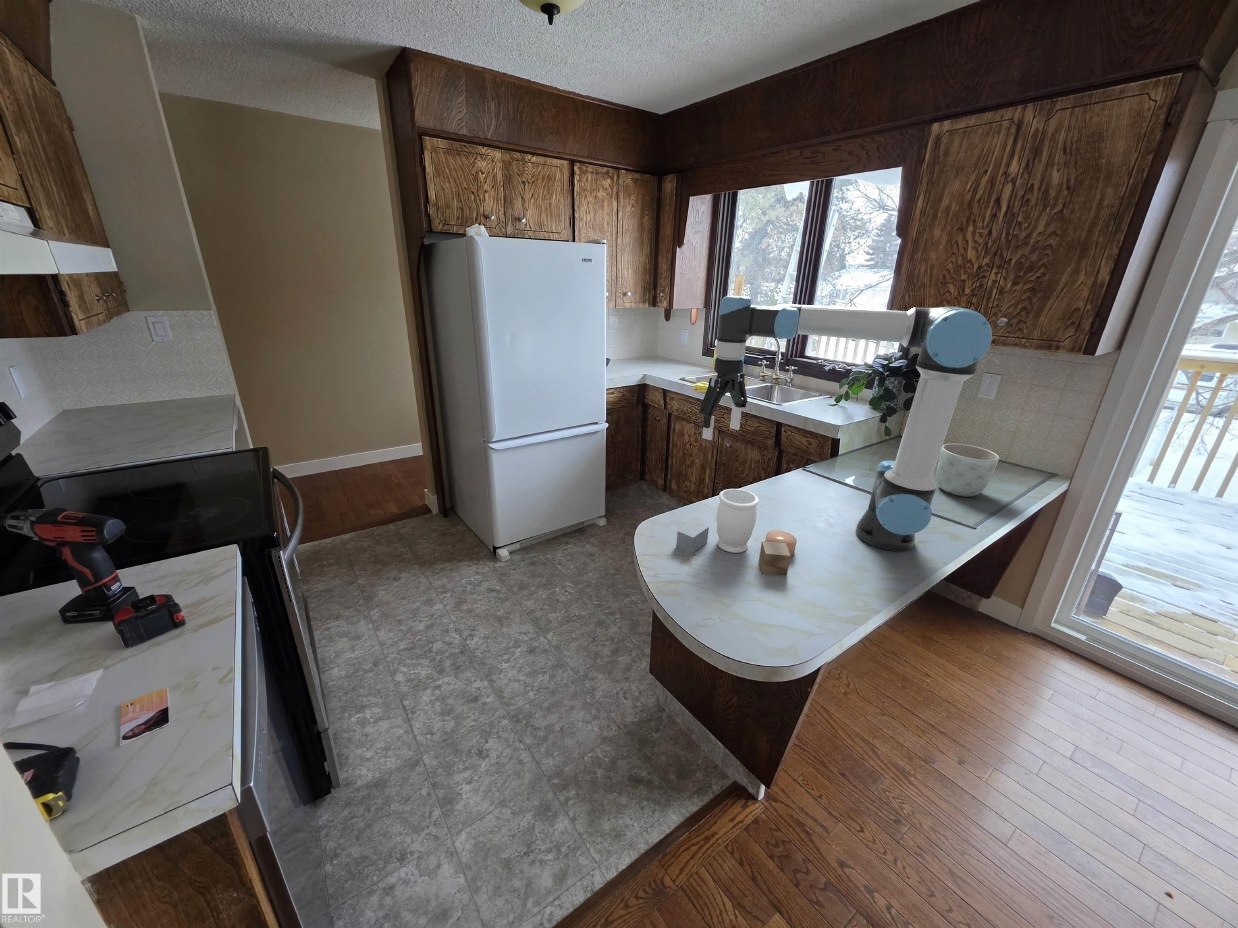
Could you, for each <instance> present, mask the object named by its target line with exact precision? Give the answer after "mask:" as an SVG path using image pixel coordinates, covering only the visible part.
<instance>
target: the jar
mask: <svg viewBox="0 0 1238 928" xmlns="http://www.w3.org/2000/svg"><path fill="white" fill-rule="evenodd" d="M718 499H719V503H718V506H717V511H716V533H717V536H718V539H717V541H716V544H717V546H718V547H719V548H720V549H721V550H722V551H725V552H728V553H733V554H737V553H743V552H745V551H747V549H748V547H749V546H748V542H749V541H750V539H751V537H752V535H753V531H754V528H755V526H756V525H755V524H756V521H757V506H758V504H759V497H758V496H757V495H756V494H755V493H753V492H751V491H749V490H746V489H745V490H744V489H742V488H729V489H727V488H726V489H723V490H722V491H720V492H719V495H718Z"/></svg>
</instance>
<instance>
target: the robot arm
mask: <svg viewBox="0 0 1238 928" xmlns="http://www.w3.org/2000/svg"><path fill="white" fill-rule="evenodd" d="M717 325H718V327H717V337H716V348H715V356H716V357H715V358H714V367H713V371H714V373H715V372H716V378H713V377H709V379H708V385H707V388H706V391H705V394H704V396H703V399H702V401H701V405H700V407H699V410H698V414H699V415H701V416H703V420H702V421H703V422H702V423H703V424H702V437H701V438H703V439H704V440H705V439H706V440H708V441H712V440H713V435H714V433H713V432H714V425H715V424H714V422H715V416H714V413H715V412H716V410H717V407H718V406H719V403H720V402H721V400H722V398H723V397H724V396H725V395H726V394H728V393H729V395H730V398H731V400H732V403H733V406H731V414H730V415H731V416H730V424H729V429H732V430H736V431H739V430H740V428H741V427H740V425H741V420H742V419H741V418H742V410H743V408H746V407H747V404H748V397H747V389H746V382H745V378H746V377H745V376H746V374H745V373H744V372H743V370H744V359H743V358H744V357H745V356H746V355H745V354H746V346H747V345H746V344H747V337H748V336H749V337H758V338H759V337H760V338H770V339H779V340H782V339H783V340H784V339H785V340H791V339H794V338H795V337H796V335H807V336H818V337H828V338H829V337H831V338H840V339H841V338H842V339H853V340H865V341H876V342H877V341H878V342H890V343H900V344H901V345H902V346H903V347H904V348H910V349H911V348H912V349H918V350H919V355H918V357H917V360H916V363H915V368H916V369H917V371H918V372H919V374H920V377H919V379H918V383H917V386H916V389H915V393H914V397H913V399H912V404H911V407H910V410H909V414H908V418H907V421H906V424H905V428H904V431H903V433H902V438H901V441H900V445H899V449H898V452H897V454H896V458H895V460H884V461H881V462H879V464H878V467H877V468H876V474H875V479H874V483H873V487H872V490H871V494H870V495H871V496H870V498H869V504H868V508H867V509H866V511H865V512H864V514H863V515H862V517H861V518H860V520H858V522H857V524H856V529H855V534H856V536H857V537H858V538H859V539H860V540H861V541H862V542H864V543H866V544H867V545H870V546H872V547H874V548H877V549H880V550H885V551H889V552H907V551H910V550H912V549H913V547H914V546H915V545H914V544H915V541H916V534H918V533H920V532H922V531H924V529H926V528H927V527H928V526H929V524H930V523H931V521H932V520H931V519H932V516H933V515H932V513H933V512H932V508H931V505H932V501H933V500H934V499H933V498H934V496H935V493H936V490H937V486H938V483H937V481H936V480H934V478H933V476H934V473H935V470H936V468H937V465H938V461H939V456H940V452H941V449H942V446H943V445H944V443H945V440H946V439H945V438H946V436H947V434H948V431H949V428H950V424H951V422H952V418H953V415H954V412H955V410H956V406H957V403H958V400H959V398H960V397H959V396H960V395H961V394H960V393H961V391H962V388H963V385H964V382H965V381H967V380H969V379H970V378H972V377H974V376H975V374H976V371H977V369H978V365H979V362H980V359H982V358H983V357H984V356H985V355H986V353H987V352H988V350H989V349H990V347H991V344H992V339H993V330H992V327H991V325H990V323H989V321H988V320H987V318H986V317H985V316H984V315H982V313H980V312H978V311H976V310H975V309H969V308H965V307H962V306H957V305H956V306H955V305H954V306H953V305H952V306H941V307H940V306H939V307H913V308H911V309H909V310H908V311H907V310H906V311H905V310H889V309H872V308H858V307H840V306H839V307H838V306H823V305H821V306H820V305H809V304H808V305H807V304H806V305H805V304H802V305H801V304H790V303H786V302H779V303H775V304H774V305H772V306H771V305H770V306H768V305H767V306H766V305H753V304H752V299H751V297H749V296H743V295H742V296H741V295H726V296H724V297H723V298H722V299H721V303H720V309H719V313H718V324H717Z"/></svg>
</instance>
